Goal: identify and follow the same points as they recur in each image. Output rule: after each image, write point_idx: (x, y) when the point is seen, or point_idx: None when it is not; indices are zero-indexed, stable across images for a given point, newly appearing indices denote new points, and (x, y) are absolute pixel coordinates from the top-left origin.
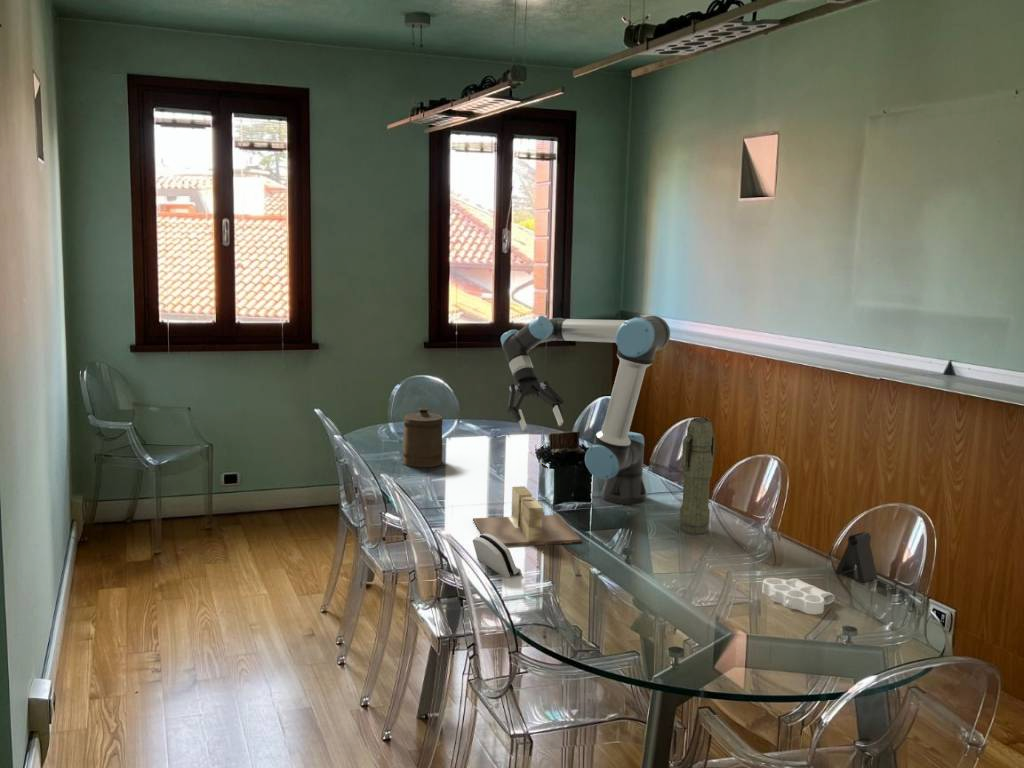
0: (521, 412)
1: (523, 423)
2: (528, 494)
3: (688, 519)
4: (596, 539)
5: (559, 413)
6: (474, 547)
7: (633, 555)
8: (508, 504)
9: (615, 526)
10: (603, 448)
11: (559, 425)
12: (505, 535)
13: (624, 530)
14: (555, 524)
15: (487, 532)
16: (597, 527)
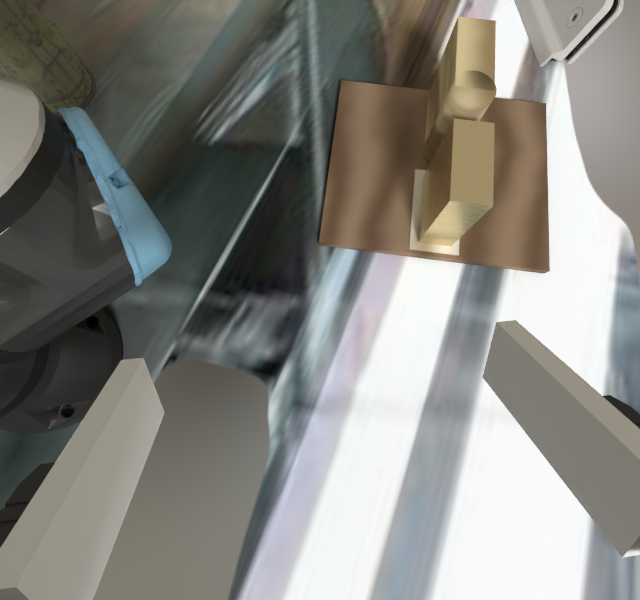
0: (631, 440)
1: (537, 346)
2: (463, 121)
3: (69, 44)
4: (300, 94)
5: (85, 437)
6: (601, 32)
7: (272, 7)
8: (413, 391)
9: (217, 154)
10: (83, 114)
11: (159, 404)
12: (496, 140)
13: (212, 127)
14: (359, 176)
15: (532, 166)
16: (261, 159)
